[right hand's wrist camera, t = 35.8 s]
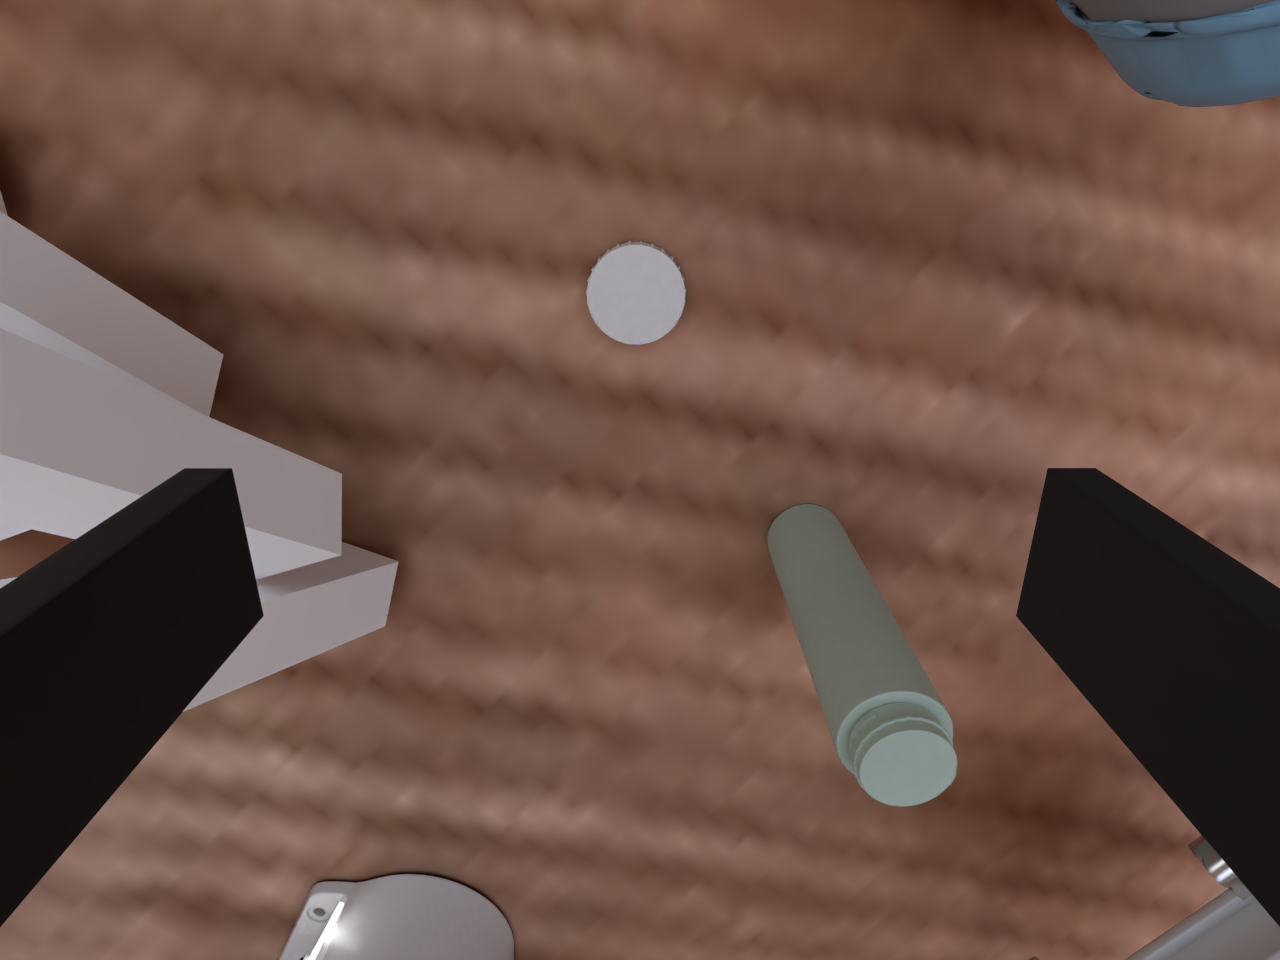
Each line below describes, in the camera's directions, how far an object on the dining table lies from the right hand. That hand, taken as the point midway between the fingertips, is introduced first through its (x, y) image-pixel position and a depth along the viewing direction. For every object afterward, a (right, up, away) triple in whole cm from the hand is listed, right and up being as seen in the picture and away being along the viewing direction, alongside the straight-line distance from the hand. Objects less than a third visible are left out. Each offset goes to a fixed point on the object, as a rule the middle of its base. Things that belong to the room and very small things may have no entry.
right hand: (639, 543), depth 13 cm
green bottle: (+10, -2, +34) cm, 35 cm away
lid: (0, +11, +27) cm, 29 cm away
